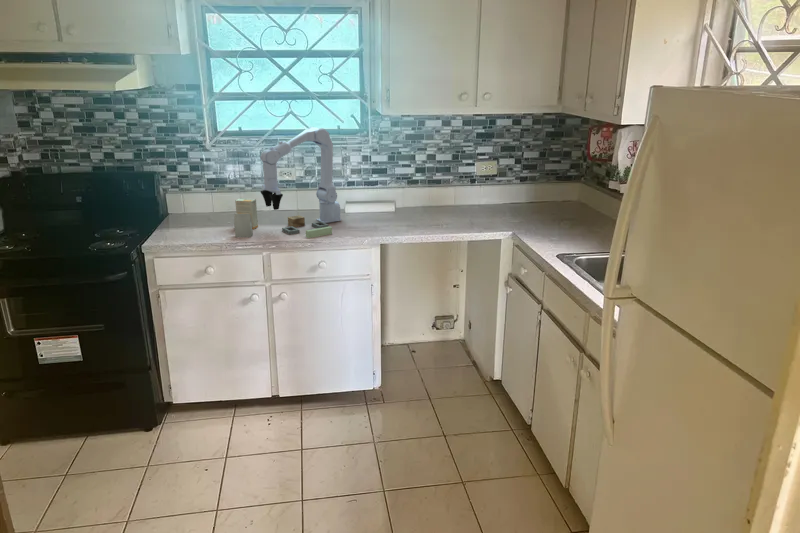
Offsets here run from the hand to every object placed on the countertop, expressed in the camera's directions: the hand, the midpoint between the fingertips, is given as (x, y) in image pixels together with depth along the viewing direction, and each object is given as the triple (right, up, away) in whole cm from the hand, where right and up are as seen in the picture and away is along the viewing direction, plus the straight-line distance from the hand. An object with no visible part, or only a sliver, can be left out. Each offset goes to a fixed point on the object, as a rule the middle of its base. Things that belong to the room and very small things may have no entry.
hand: (272, 207), depth 269 cm
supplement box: (-12, -9, +6) cm, 16 cm away
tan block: (+9, -7, +11) cm, 16 cm away
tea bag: (-11, -13, -7) cm, 18 cm away
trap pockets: (+17, -11, 0) cm, 20 cm away
